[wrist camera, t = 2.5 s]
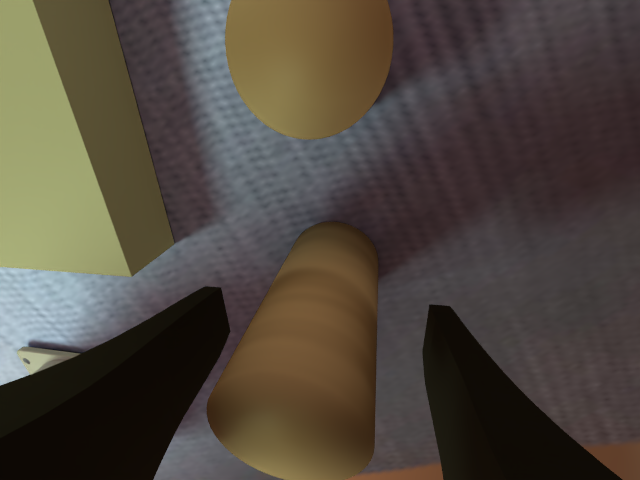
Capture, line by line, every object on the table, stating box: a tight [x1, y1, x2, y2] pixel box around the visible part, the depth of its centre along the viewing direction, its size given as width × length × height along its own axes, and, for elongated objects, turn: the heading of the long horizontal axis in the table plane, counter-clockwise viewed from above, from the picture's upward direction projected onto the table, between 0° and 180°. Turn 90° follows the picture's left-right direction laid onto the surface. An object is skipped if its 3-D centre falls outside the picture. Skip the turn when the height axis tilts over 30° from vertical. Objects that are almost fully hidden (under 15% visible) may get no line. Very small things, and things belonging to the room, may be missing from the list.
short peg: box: [225, 0, 393, 139], centre depth 9 cm, size 4×4×4 cm
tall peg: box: [207, 222, 378, 480], centre depth 11 cm, size 4×4×8 cm
